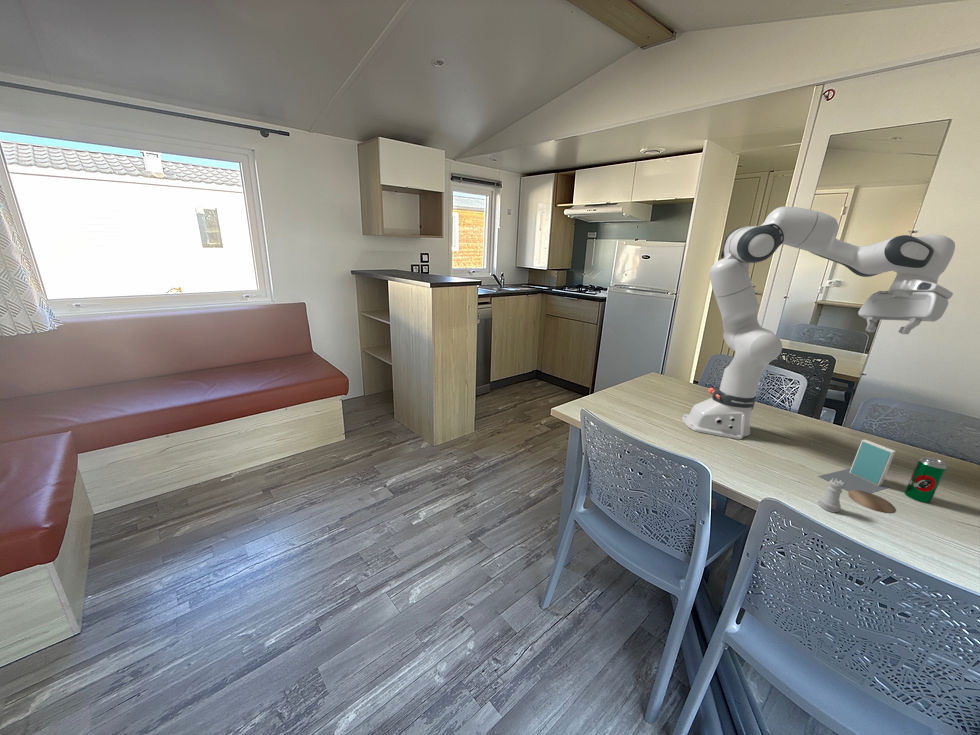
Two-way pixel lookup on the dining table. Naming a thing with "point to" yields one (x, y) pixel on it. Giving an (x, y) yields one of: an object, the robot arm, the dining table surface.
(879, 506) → the coaster
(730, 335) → the robot arm
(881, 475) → the glazed tile
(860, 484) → the rubber mat
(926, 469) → the soda can
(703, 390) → the dining table surface
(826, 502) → the rook chess piece
